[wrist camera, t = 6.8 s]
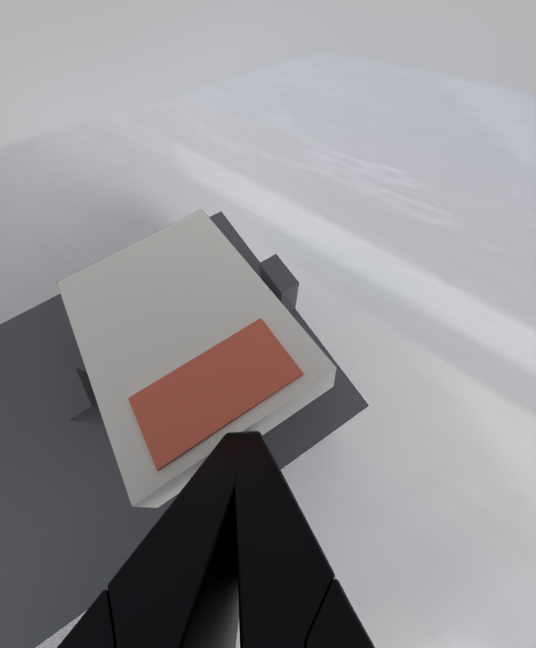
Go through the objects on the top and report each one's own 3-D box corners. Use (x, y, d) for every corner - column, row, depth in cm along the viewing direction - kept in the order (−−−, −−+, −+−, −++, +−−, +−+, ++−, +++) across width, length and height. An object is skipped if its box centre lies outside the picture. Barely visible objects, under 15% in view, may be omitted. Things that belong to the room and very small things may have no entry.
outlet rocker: (333, 386, 8) (336, 365, 7) (157, 507, 7) (129, 506, 6) (211, 235, 12) (200, 206, 10) (80, 304, 11) (54, 279, 10)
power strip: (333, 423, 15) (388, 395, 8) (-207, 811, 11) (-1174, 1532, 4) (234, 281, 18) (208, 168, 11) (-220, 539, 14) (-762, 634, 7)
